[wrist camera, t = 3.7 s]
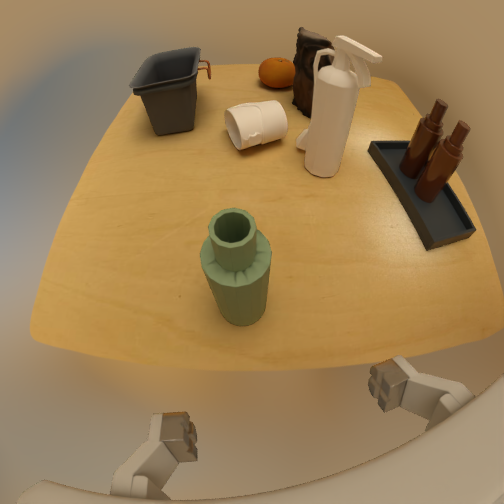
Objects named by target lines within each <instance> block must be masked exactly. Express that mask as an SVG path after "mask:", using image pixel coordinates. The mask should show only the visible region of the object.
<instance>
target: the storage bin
mask: <svg viewBox="0 0 504 504" xmlns="http://www.w3.org/2000/svg"><path fill="white" fill-rule="evenodd" d="M200 50H201V49H200V48H196V47H191V48H184V49H178V50H172V51H167V52H162V53H158V54H155V55H152V56H150V57H148V58H147V59H146V60H145V61H144V63H143V64H142V65H141V67H140V68H139V70H138V71H137V73H136V74H135V76H134V78H133V80H132V81H131V83H130V85H129V86H130V87H131V88H133V93H134V95H137V96H141V99H142V101H143V103H144V106H145V108H146V111H147V114H148V116H149V119H150V121H151V124H152V126H153V129H154V131H155V134H157V135H164V134H169V133H175V132H182V131H188V130H191V129H193V128H194V120H195V108H196V99H197V89H196V77H197V74H198V70H201V69H206V70H207V73H208V78H209V79H211V69H210V63H209V61H207V60H200ZM199 62H207V64H208V68H207V67H202V68H198V63H199Z"/></svg>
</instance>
